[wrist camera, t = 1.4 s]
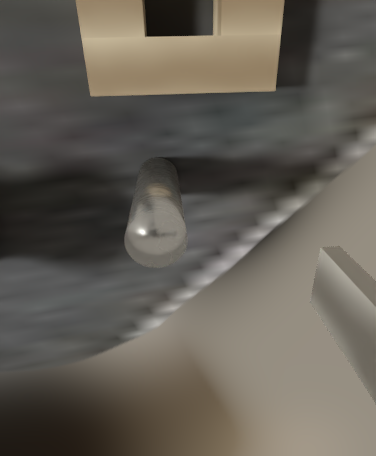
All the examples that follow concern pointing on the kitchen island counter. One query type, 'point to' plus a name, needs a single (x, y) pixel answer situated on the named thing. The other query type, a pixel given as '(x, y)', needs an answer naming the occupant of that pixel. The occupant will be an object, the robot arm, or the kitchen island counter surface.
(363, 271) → the robot arm
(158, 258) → the peg
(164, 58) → the hole block
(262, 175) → the kitchen island counter surface
